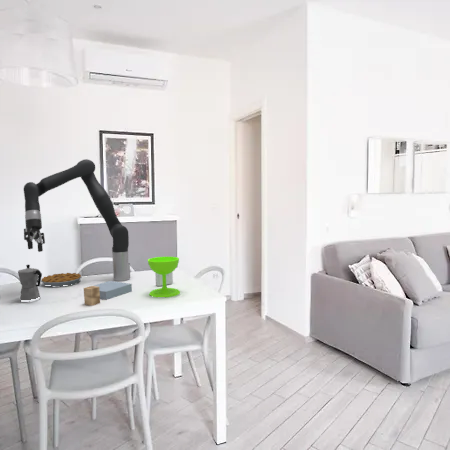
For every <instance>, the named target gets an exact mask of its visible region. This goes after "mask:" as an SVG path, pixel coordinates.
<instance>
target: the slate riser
mask: <svg viewBox="0 0 450 450" xmlns="http://www.w3.org/2000/svg"><path fill="white" fill-rule="evenodd" d="M132 285H133V284H132V283H127V282H123V281H114V280H113V281H112V280H108V281H105V282H101V283H97V284H94V285H93V286H97V287H99V290H100V300H110V299H113V298H115V297H118V296H122V295H125V294H127V293H131V292H133V287H132Z"/></svg>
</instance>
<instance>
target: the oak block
mask: <svg viewBox="0 0 450 450" xmlns="http://www.w3.org/2000/svg"><path fill="white" fill-rule="evenodd" d="M83 297H84V300H83V301H84V305H85V306H91V307H93V306H96V305H98V304H99V305H100V304H101V299H100V290H99V287H97V286H94V285H90V286H87V287H83Z"/></svg>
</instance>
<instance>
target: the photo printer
mask: <svg viewBox="0 0 450 450" xmlns="http://www.w3.org/2000/svg"><path fill="white" fill-rule="evenodd" d="M154 274H155V285H156V286H157V287H163V282H162V275H160V274H157V273H155V272H154ZM173 275H174V274H173V272H171V273H169V274H166V286H167V285H171V284H173V283H174V279H173V278H174V277H173Z"/></svg>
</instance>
